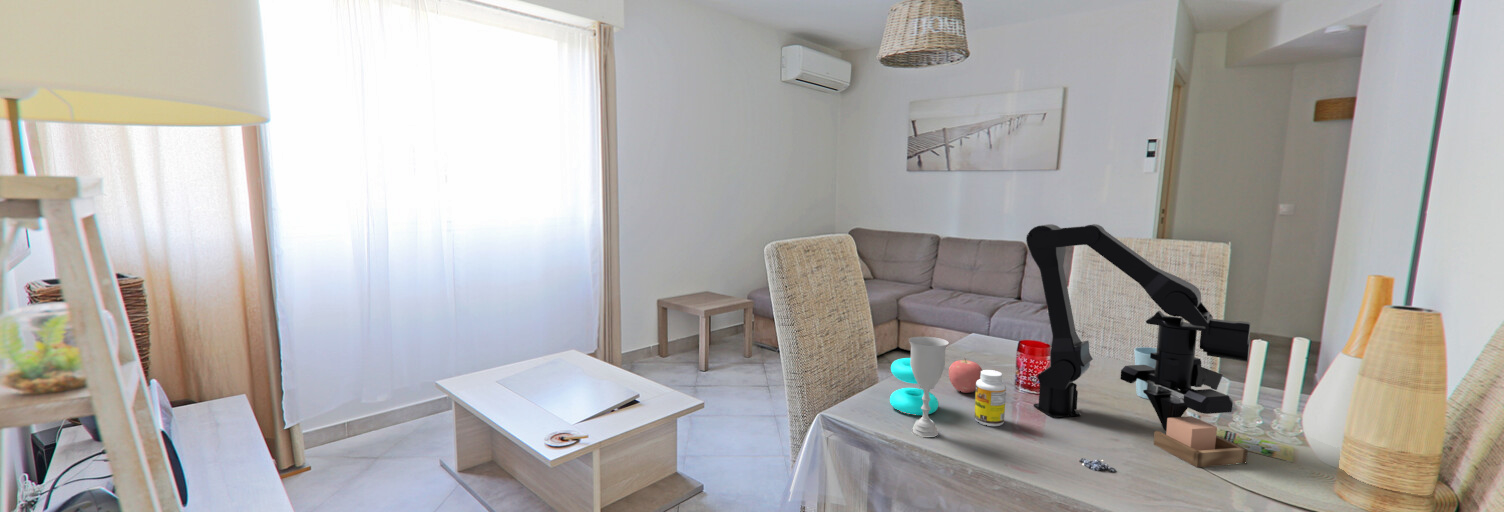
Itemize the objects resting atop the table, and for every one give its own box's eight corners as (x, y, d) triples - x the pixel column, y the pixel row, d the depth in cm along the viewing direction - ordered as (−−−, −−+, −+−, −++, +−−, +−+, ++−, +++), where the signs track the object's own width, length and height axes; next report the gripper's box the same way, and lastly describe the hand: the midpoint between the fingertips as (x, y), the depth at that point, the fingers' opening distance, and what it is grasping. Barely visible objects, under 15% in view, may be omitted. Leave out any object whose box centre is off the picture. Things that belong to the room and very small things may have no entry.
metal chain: (1076, 457, 103) (1076, 446, 103) (1129, 467, 98) (1129, 456, 98) (1068, 472, 98) (1067, 461, 98) (1123, 483, 93) (1123, 472, 92)
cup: (1141, 388, 136) (1145, 345, 134) (1178, 398, 129) (1183, 353, 128) (1123, 394, 132) (1127, 349, 131) (1161, 405, 125) (1165, 358, 124)
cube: (1189, 456, 101) (1192, 429, 101) (1165, 444, 106) (1167, 417, 106) (1214, 454, 102) (1217, 427, 101) (1189, 442, 107) (1191, 416, 106)
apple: (948, 395, 131) (949, 361, 130) (947, 384, 138) (948, 352, 137) (983, 398, 129) (985, 364, 128) (980, 388, 136) (982, 354, 135)
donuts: (881, 361, 123) (910, 353, 129) (879, 406, 124) (909, 396, 130) (920, 373, 115) (949, 364, 121) (918, 421, 116) (947, 410, 122)
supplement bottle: (969, 416, 119) (971, 368, 118) (996, 416, 119) (998, 368, 118) (981, 427, 113) (983, 377, 112) (1009, 427, 114) (1011, 376, 112)
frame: (1196, 467, 97) (1198, 453, 97) (1153, 444, 106) (1154, 431, 106) (1246, 463, 99) (1247, 449, 98) (1199, 441, 107) (1200, 428, 107)
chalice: (945, 428, 113) (948, 338, 111) (944, 442, 107) (948, 347, 105) (906, 423, 115) (909, 335, 113) (903, 436, 109) (906, 344, 107)
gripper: (1264, 363, 99) (1255, 450, 100) (1170, 335, 117) (1163, 410, 119) (1207, 366, 97) (1199, 455, 99) (1121, 338, 115) (1115, 413, 117)
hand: (1168, 431), depth 108 cm, fingers closed
